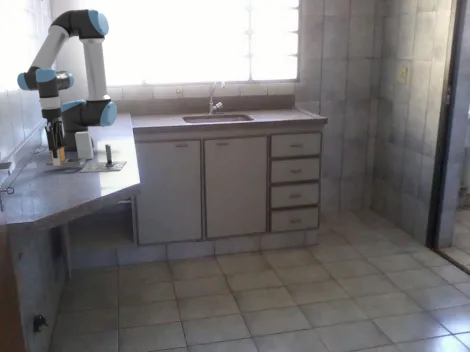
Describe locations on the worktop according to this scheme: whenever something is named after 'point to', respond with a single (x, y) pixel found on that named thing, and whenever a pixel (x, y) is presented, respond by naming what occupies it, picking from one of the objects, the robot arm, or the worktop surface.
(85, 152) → the skincare box
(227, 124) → the worktop surface
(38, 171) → the worktop surface
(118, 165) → the post
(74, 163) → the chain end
